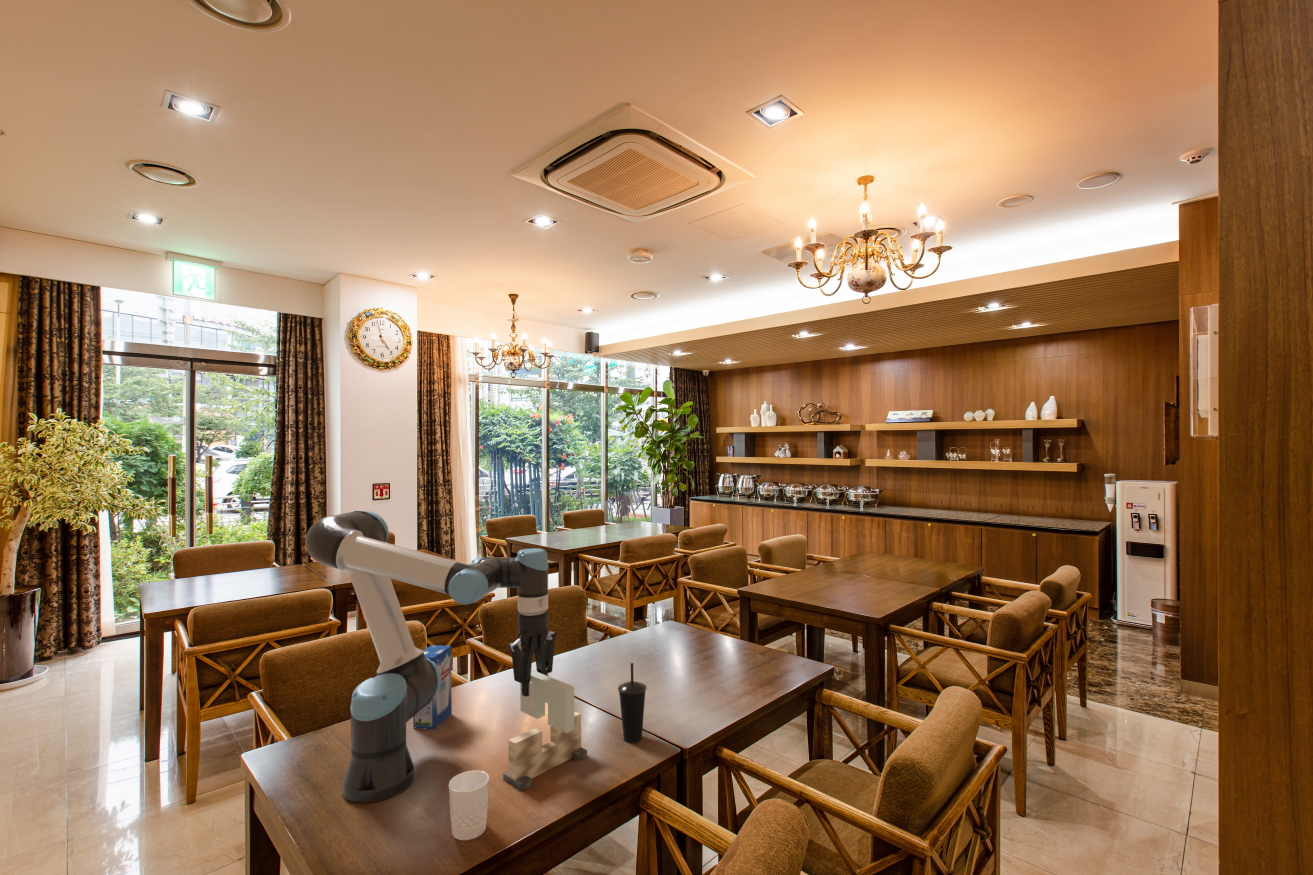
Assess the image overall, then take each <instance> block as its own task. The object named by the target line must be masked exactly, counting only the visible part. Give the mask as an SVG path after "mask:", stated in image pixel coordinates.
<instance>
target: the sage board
mask: <svg viewBox="0 0 1313 875" xmlns="http://www.w3.org/2000/svg"><path fill="white" fill-rule="evenodd" d="M530 682H533V709H532V710H529V709H527V708H525V707H524V696H523V695H522V683H519V687H520V688H519V689H520V712H522V713H524V714H526V715H528V716H530V717H532V718H535V719H536V720H537V719H540V718H542V717H545V716H546V704H547V724H548V726H552V727H554V728H557V729H559V730H561V731H563V732H565V733H568V732H570V731H572V730H574V711H575V686H574V685H571V684H568V683H565V682H564V681H561V680H559V679H556V678H554V677H551V676H546V675H544V674H541V673H539V672H537V670H534V669H531V677H530Z"/></svg>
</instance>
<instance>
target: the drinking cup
mask: <svg viewBox="0 0 1313 875" xmlns="http://www.w3.org/2000/svg"><path fill="white" fill-rule="evenodd" d="M617 691H618V694H619V702H620V704H619V705H620V713H621V723H622V726H621V727H622V734H623V740H624V742H626V743H629V744H636V743H638V742H641V741H642V739H643V729H644V728H643V726H644V713H645V700H646V691H647V685H646V684H644V683H643V682H639V681H634V662H631V663H630V681H629V680H628V681H626V682H623V683H621V684H619V685H618V687H617Z"/></svg>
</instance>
